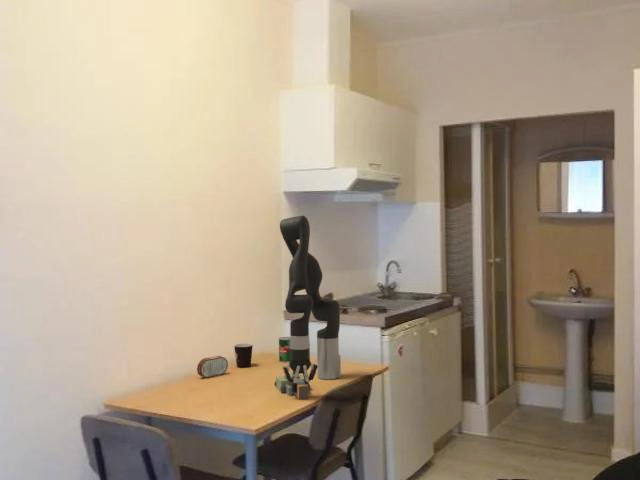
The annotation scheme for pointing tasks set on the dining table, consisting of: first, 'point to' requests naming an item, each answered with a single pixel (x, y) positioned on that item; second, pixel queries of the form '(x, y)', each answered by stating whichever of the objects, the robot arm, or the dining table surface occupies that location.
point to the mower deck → (286, 384)
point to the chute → (301, 390)
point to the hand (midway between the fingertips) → (300, 391)
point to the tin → (212, 366)
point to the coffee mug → (243, 355)
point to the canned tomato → (284, 349)
